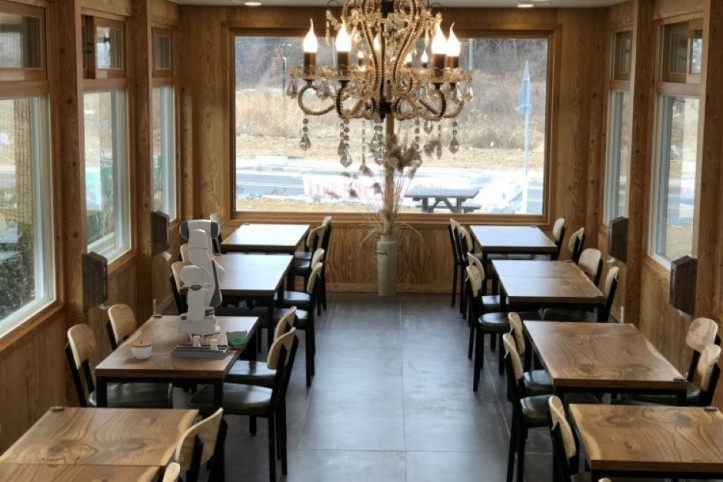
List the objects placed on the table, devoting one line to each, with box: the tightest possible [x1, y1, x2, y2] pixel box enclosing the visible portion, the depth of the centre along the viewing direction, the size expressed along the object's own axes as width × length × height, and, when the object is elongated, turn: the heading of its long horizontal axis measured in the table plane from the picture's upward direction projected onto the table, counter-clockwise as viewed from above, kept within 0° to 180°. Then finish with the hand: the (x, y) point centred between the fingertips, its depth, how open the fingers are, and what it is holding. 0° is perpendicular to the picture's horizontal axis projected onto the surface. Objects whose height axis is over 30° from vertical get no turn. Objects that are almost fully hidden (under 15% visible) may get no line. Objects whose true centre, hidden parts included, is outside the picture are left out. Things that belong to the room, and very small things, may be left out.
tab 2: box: [210, 338, 218, 350], centre depth 559 cm, size 3×4×6 cm
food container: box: [225, 328, 249, 352], centre depth 575 cm, size 12×6×10 cm, turn 117°
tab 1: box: [192, 335, 201, 347], centre depth 566 cm, size 3×4×6 cm
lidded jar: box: [130, 339, 153, 360], centre depth 555 cm, size 11×11×9 cm
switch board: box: [171, 343, 230, 359], centre depth 564 cm, size 13×28×4 cm, turn 87°
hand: (196, 341), depth 566 cm, fingers closed on tab 1, 3 cm apart
